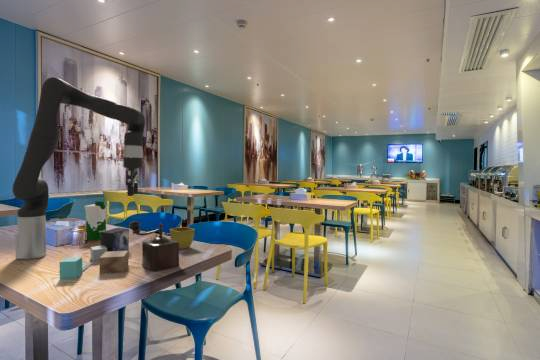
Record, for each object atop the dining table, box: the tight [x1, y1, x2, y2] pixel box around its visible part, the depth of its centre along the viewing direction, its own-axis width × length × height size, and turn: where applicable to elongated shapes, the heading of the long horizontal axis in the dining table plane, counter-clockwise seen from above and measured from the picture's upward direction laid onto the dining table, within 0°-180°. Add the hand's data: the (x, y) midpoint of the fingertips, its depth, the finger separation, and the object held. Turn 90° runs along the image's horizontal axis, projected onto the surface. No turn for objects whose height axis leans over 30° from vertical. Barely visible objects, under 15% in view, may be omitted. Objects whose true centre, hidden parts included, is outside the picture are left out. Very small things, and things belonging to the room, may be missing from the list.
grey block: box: [90, 245, 107, 263], centre depth 124 cm, size 5×5×6 cm
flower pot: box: [169, 226, 196, 250], centre depth 144 cm, size 9×9×9 cm
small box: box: [100, 227, 130, 252], centre depth 133 cm, size 11×6×10 cm, turn 168°
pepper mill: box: [128, 220, 180, 273], centre depth 115 cm, size 16×11×18 cm
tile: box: [58, 263, 93, 273], centre depth 113 cm, size 8×8×1 cm
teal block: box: [59, 256, 83, 280], centre depth 104 cm, size 5×5×6 cm
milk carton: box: [83, 200, 108, 241], centre depth 160 cm, size 9×9×20 cm
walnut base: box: [98, 251, 129, 275], centre depth 112 cm, size 8×8×6 cm
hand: (132, 194), depth 129 cm, fingers open, 8 cm apart
